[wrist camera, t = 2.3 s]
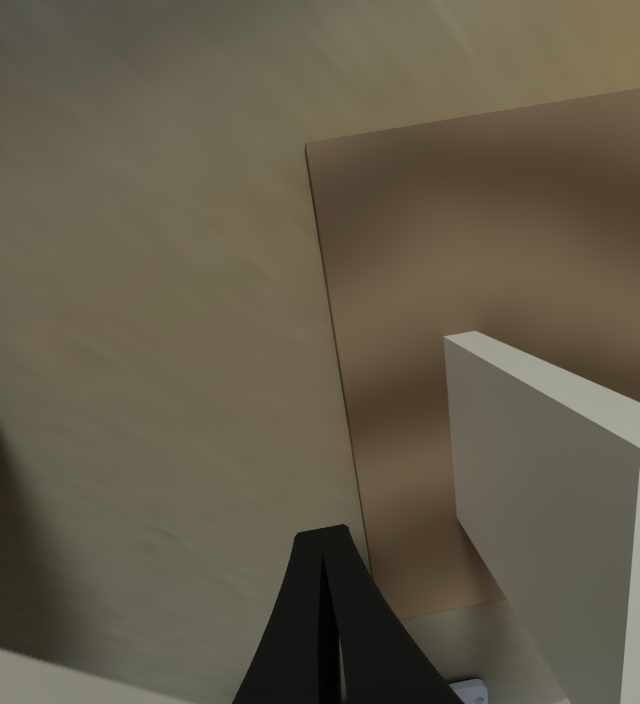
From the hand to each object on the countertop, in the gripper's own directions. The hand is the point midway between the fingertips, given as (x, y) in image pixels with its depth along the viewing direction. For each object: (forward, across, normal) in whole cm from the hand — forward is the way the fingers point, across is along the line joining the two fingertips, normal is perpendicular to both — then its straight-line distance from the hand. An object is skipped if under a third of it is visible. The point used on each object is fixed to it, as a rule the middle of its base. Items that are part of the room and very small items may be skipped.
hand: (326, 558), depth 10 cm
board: (+6, -9, -1) cm, 11 cm away
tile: (+5, -6, 0) cm, 8 cm away
